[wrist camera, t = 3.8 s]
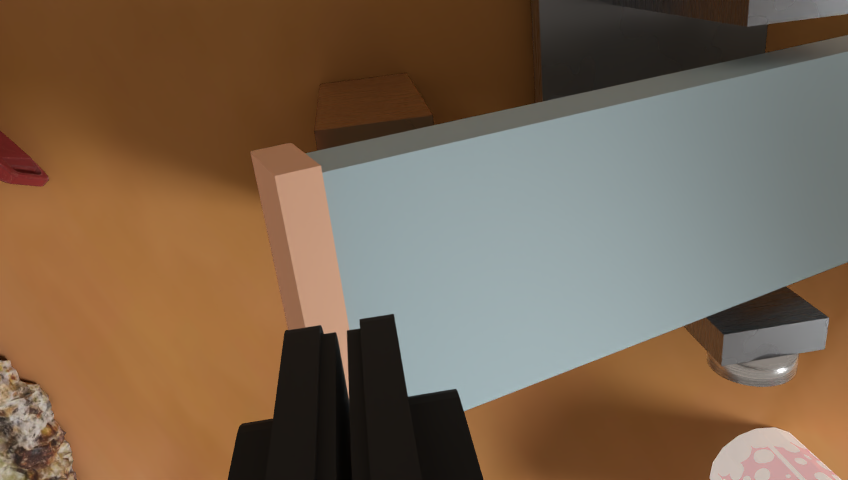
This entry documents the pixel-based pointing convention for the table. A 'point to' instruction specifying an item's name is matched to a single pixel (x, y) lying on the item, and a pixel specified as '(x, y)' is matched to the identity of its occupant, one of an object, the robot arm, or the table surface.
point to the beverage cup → (768, 458)
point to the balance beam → (568, 219)
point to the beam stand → (614, 65)
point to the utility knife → (18, 165)
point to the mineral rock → (30, 432)
